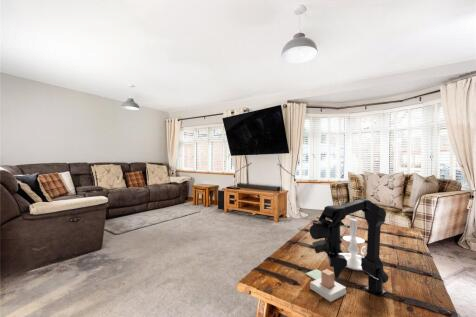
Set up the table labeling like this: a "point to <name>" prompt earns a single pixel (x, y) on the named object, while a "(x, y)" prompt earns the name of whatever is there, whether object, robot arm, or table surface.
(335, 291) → the white square frame
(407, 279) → the table surface
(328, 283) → the plug
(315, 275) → the pad
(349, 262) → the candlestick
